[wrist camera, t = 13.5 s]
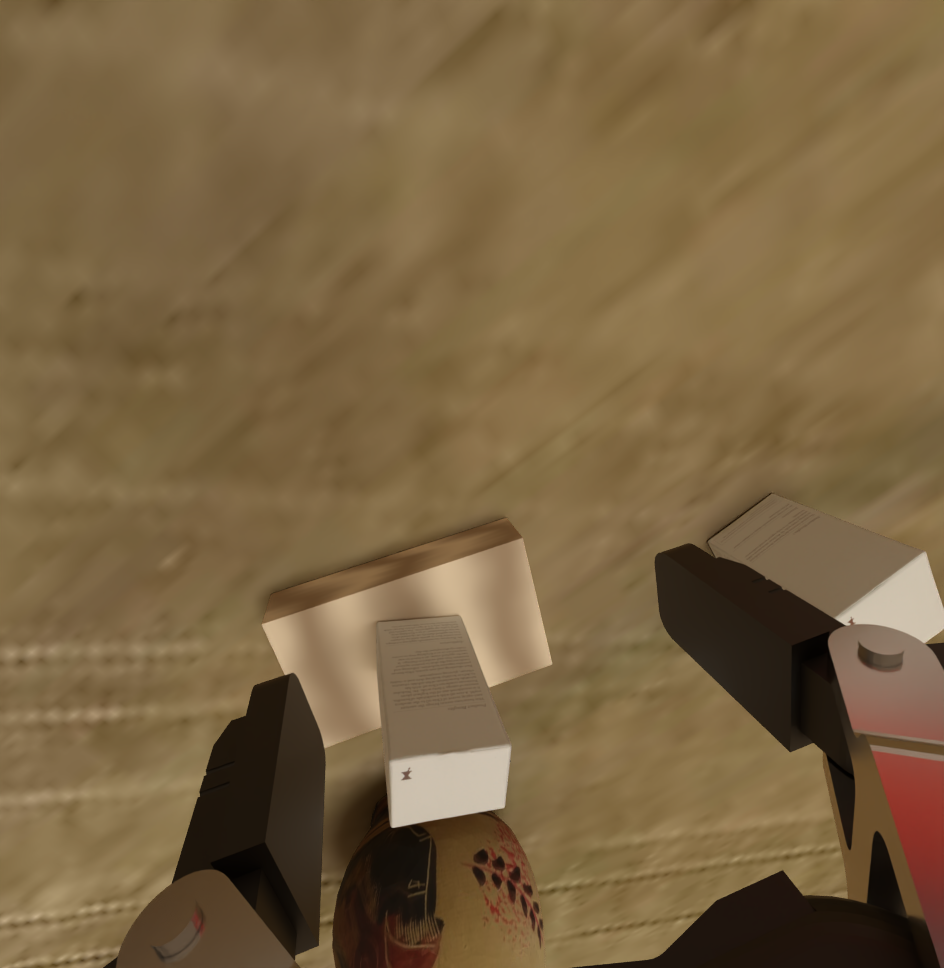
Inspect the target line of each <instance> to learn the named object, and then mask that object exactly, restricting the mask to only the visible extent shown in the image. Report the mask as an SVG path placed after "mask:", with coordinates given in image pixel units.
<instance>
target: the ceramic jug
mask: <svg viewBox="0 0 944 968" xmlns="http://www.w3.org/2000/svg"><path fill="white" fill-rule="evenodd" d="M510 762H511V760H510ZM332 933H333V944H332V948H333V954H334V960H335V967H336V968H545V940H544V926H543V918H542V912H541V905H540V900H539V895H538V890H537V886H536V882H535V879H534V875H533V872H532V869H531V866H530V864H529V861H528V859H527V857H526V854H525V852H524V851H523V849H522V847H521V846H520V844H519V842H518V840H517V839H516V837H515V835H514V833H513V832H512V830H511V829H510V828H509V827H508V826H507V825H506V824H505V823H504V822H503V821H502V820H501V819H500V818H499V817H498V816H497V815H496V814H495V813H493V812H492V811H484V812H478V813H473V814H467V815H462V816H456V817H450V818H444V819H438V820H432V821H427V822H421V823H416V824H411V825H406V826H401V827H396V828H392V827H391V826H390V821H389V809H388V796H384V797H383V798H382V799H381V800H380V801H379V802H378V803H377V804H376V807H375V810H374V813H373V816H372V821H371V828H370V830H369V831H368V833H367V835H366V836H365V838H364V839H363V841H362V842H361V843H360V845H359V846H358V848H357V850H356V851H355V853H354V854H353V856H352V858H351V861H350V863H349V865H348V867H347V869H346V872H345V875H344V878H343V881H342V883H341V886H340V889H339V892H338V895H337V901H336V907H335V912H334V921H333V932H332Z"/></svg>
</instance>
